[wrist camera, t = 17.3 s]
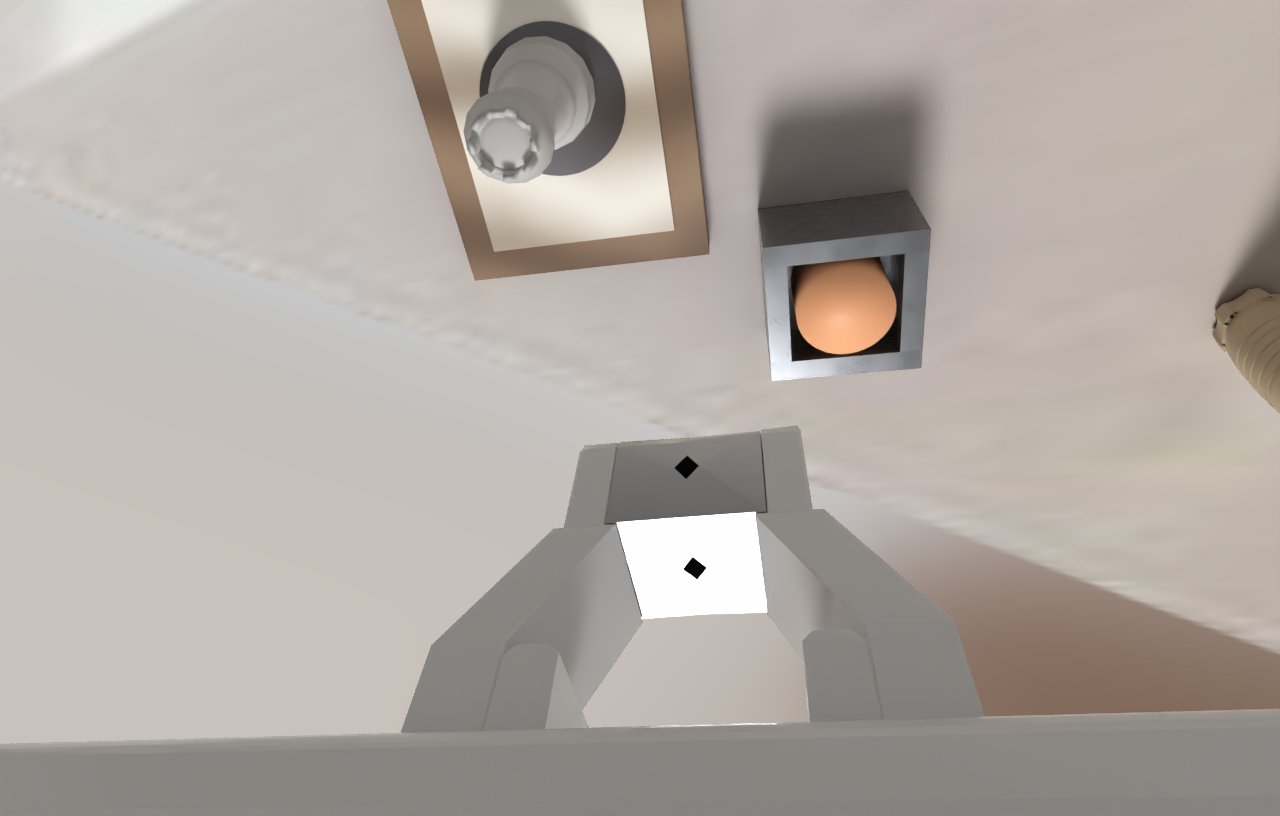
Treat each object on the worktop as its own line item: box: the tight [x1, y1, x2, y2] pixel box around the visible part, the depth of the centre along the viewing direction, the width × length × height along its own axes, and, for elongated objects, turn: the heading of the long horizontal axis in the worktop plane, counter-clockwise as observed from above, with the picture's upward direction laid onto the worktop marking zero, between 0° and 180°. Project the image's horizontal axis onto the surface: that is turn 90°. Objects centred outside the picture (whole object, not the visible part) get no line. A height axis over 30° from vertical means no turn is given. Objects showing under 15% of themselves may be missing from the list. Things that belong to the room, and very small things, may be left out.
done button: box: [791, 257, 896, 354], centre depth 35 cm, size 4×4×3 cm
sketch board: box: [387, 0, 709, 281], centre depth 33 cm, size 16×12×2 cm
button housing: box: [758, 191, 931, 381], centre depth 36 cm, size 7×7×4 cm
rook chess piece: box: [464, 36, 595, 184], centre depth 29 cm, size 4×4×8 cm
